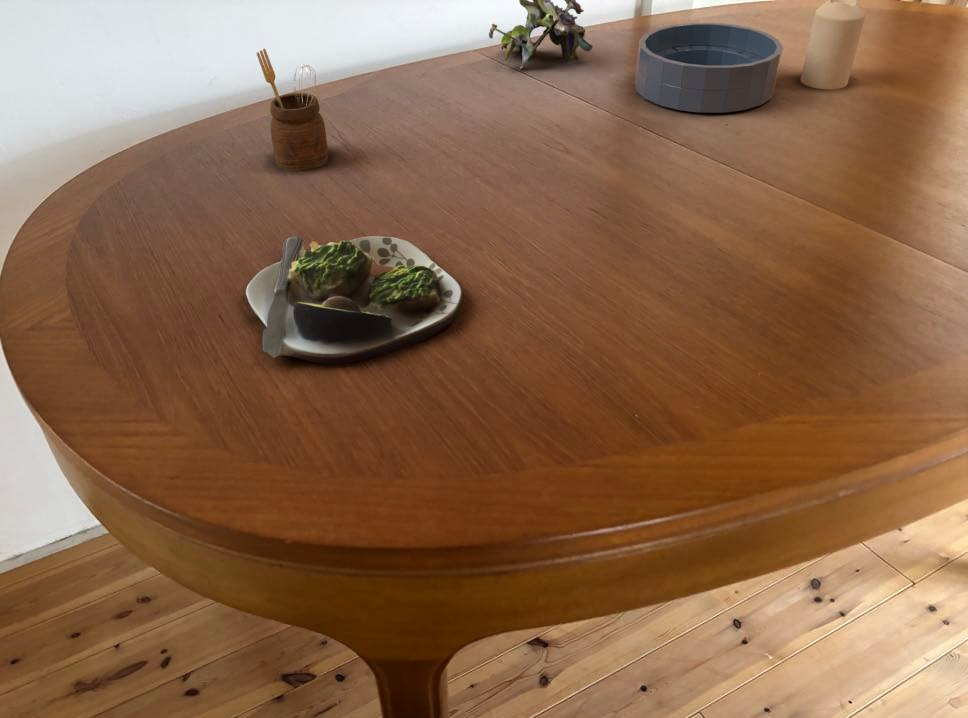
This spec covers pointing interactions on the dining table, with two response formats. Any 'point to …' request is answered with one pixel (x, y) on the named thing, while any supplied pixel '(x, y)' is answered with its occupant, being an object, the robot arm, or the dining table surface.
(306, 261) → the avocado toast plate
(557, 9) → the passion flower
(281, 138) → the utensil holder
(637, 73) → the bowl
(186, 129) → the dining table surface
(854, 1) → the cream bottle
